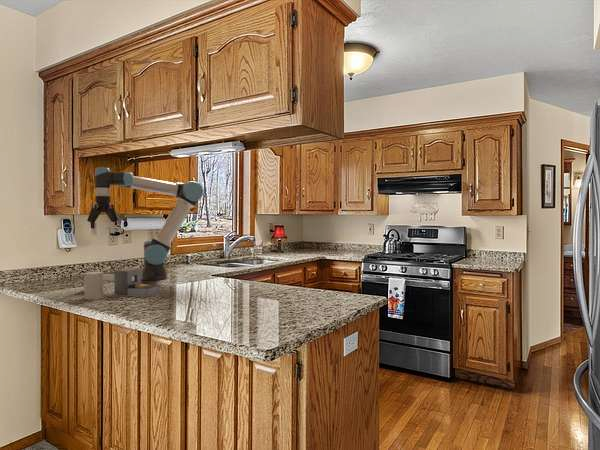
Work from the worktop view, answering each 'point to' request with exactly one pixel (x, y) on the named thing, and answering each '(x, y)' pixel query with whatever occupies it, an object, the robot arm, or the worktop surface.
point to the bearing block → (126, 280)
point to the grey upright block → (93, 285)
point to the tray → (144, 291)
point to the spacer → (141, 286)
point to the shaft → (109, 276)
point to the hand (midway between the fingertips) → (103, 233)
